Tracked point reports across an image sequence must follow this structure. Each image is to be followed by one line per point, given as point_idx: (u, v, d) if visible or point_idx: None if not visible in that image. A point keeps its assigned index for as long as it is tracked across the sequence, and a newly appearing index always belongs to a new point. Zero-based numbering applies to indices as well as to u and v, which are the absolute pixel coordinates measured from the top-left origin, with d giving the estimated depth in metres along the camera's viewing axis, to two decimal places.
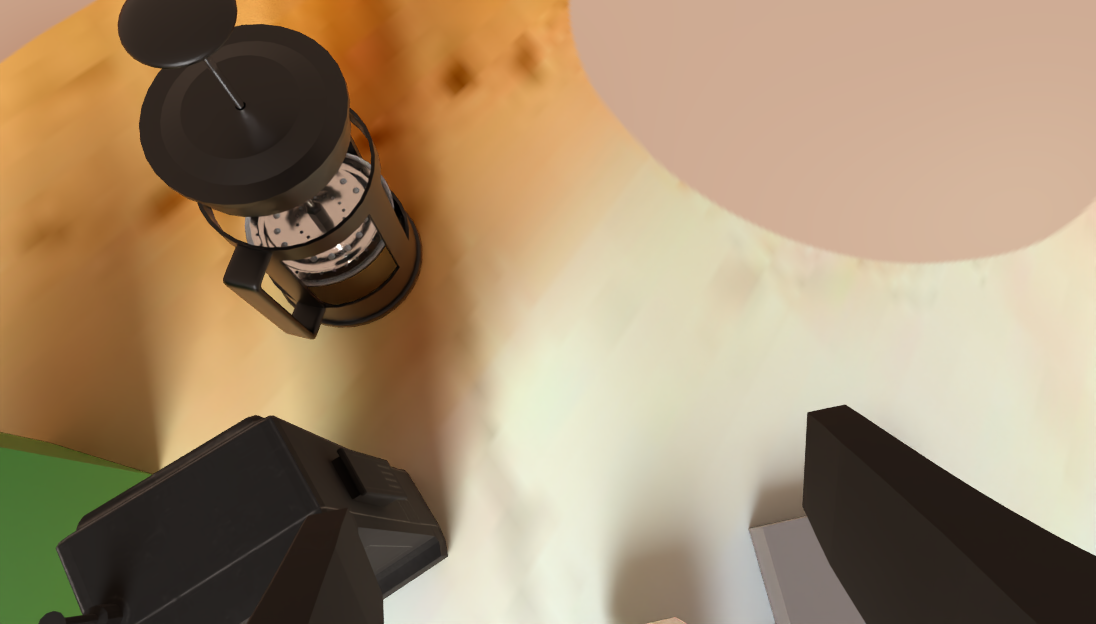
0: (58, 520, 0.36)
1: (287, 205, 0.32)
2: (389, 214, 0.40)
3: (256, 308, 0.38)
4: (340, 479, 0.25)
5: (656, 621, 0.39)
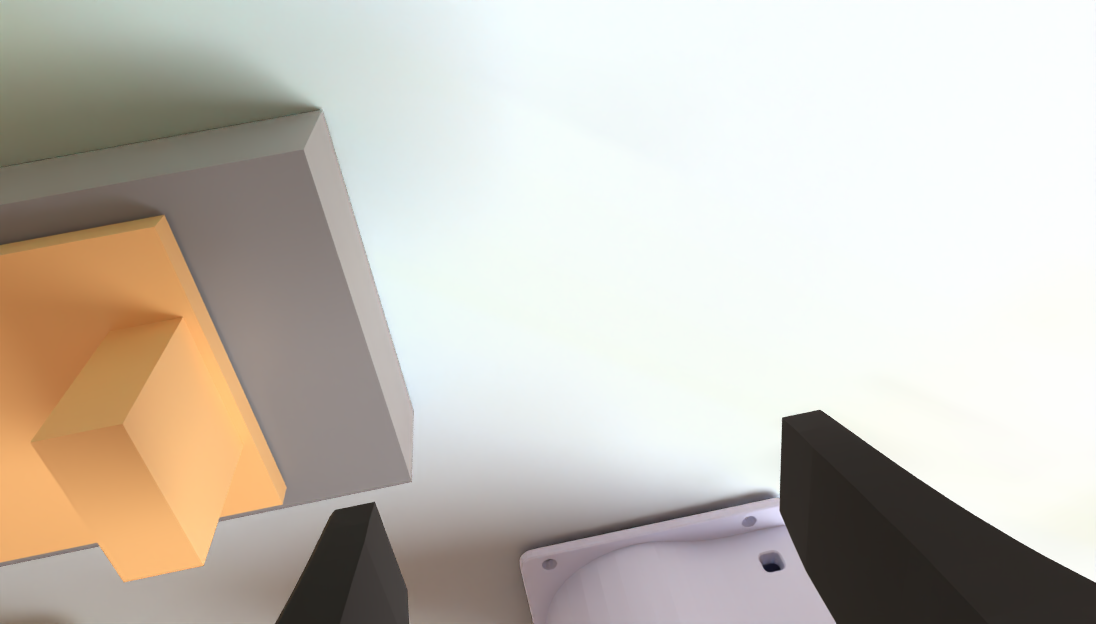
0: None
1: None
2: None
3: None
4: None
5: None
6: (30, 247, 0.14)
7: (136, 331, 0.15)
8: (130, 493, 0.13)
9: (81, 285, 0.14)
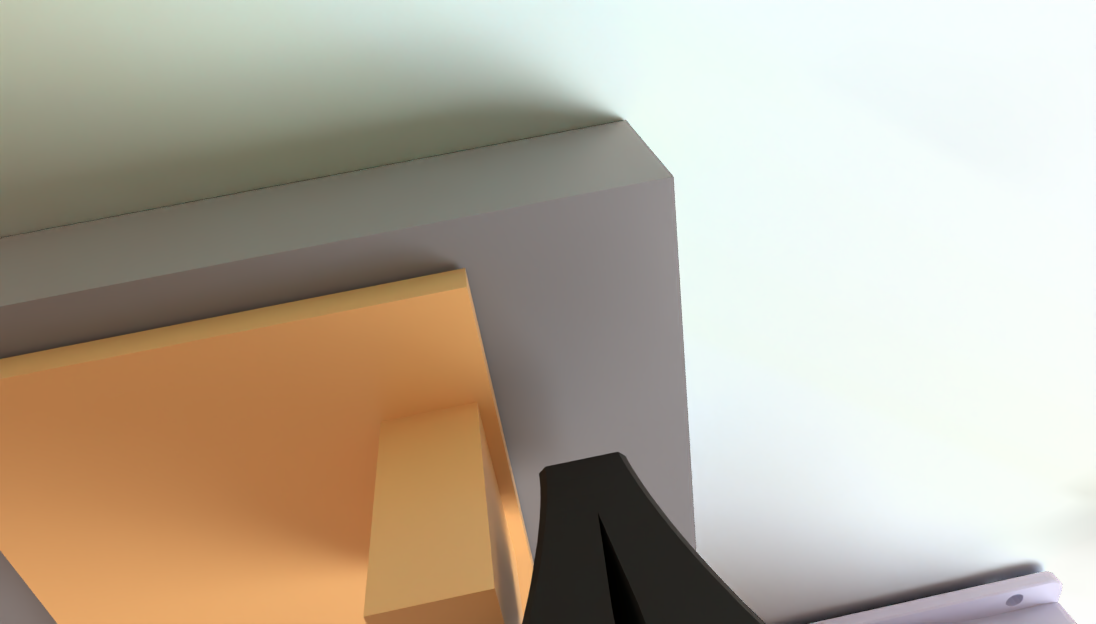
0: None
1: None
2: None
3: None
4: None
5: None
6: (297, 316, 0.10)
7: (422, 423, 0.11)
8: None
9: (357, 364, 0.11)
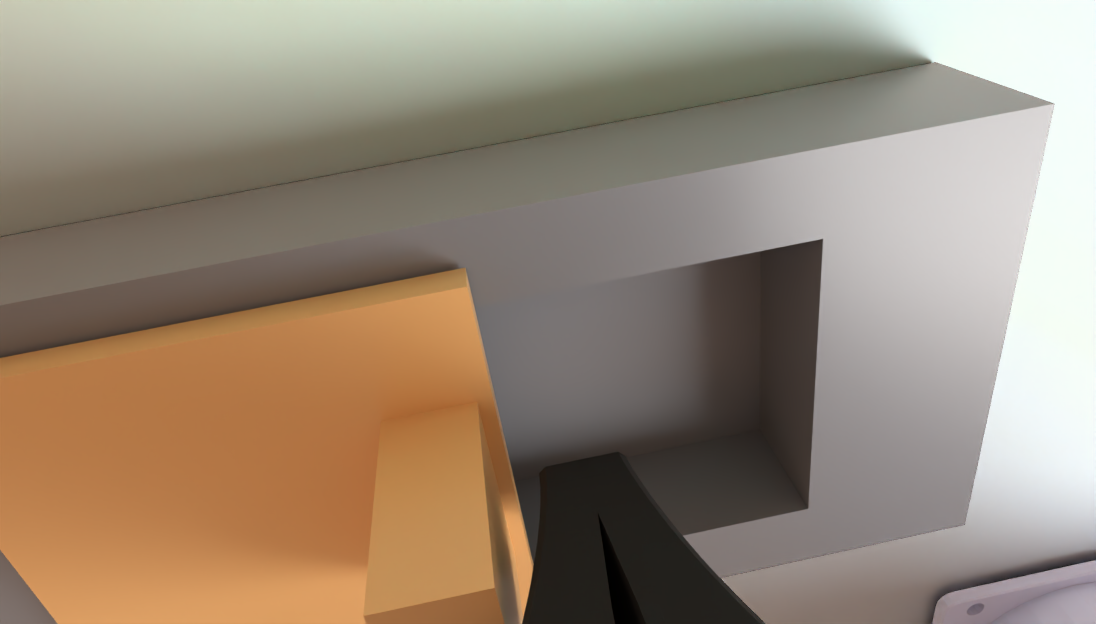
0: None
1: None
2: None
3: None
4: None
5: None
6: (297, 315, 0.10)
7: (422, 423, 0.11)
8: None
9: (357, 364, 0.11)
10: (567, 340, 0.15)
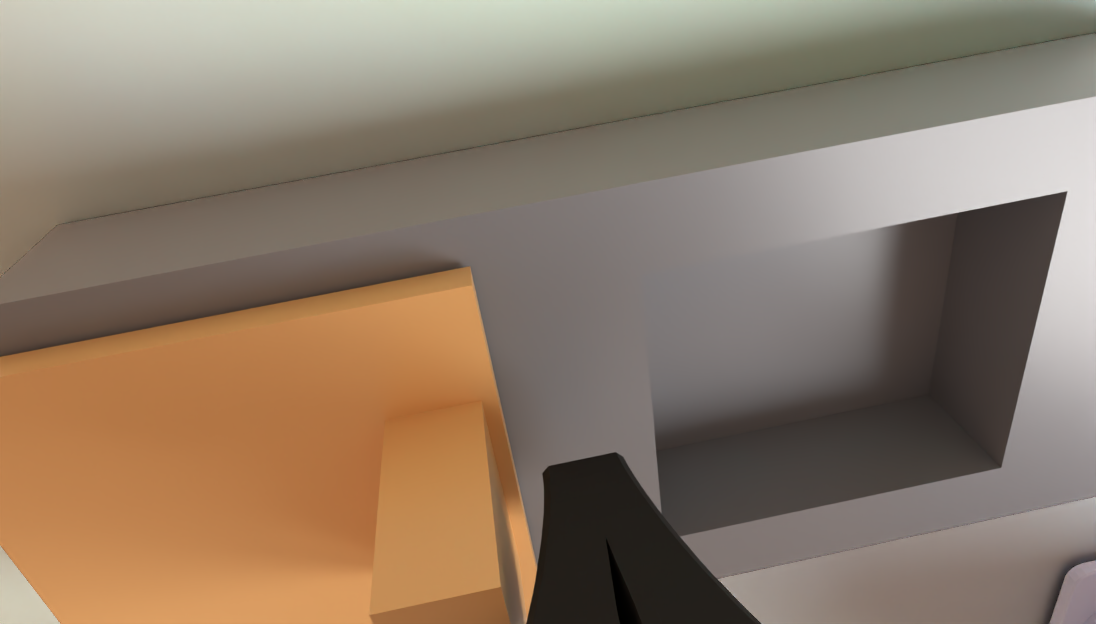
0: None
1: None
2: None
3: None
4: None
5: None
6: (302, 313, 0.10)
7: (426, 422, 0.11)
8: None
9: (361, 362, 0.11)
10: (761, 302, 0.15)
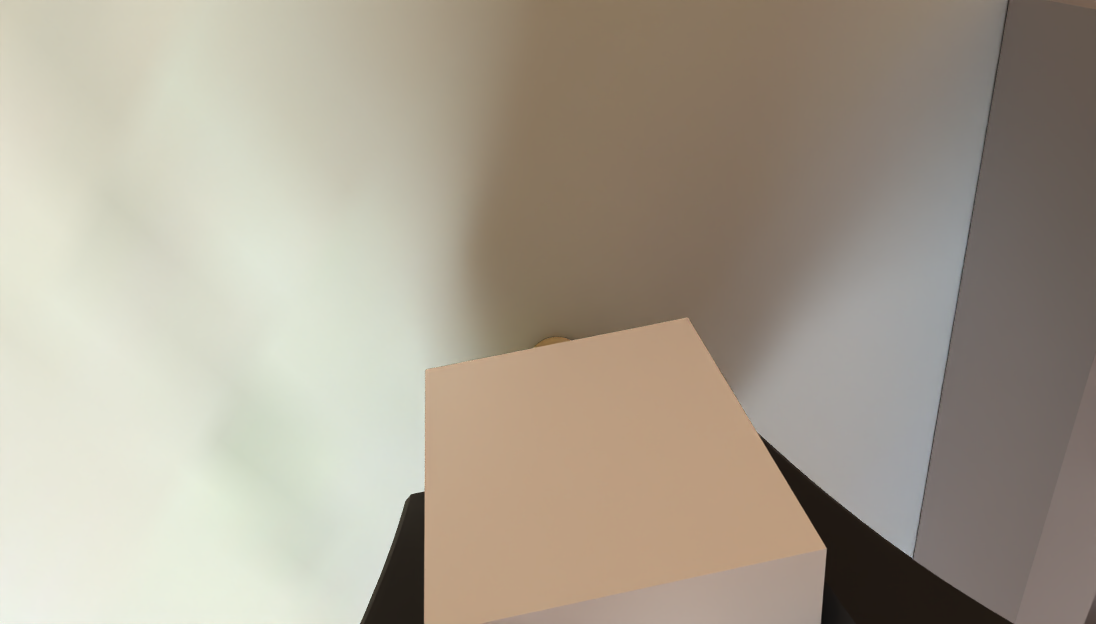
0: None
1: None
2: None
3: None
4: None
5: (621, 333, 0.11)
6: None
7: None
8: None
9: None
10: None
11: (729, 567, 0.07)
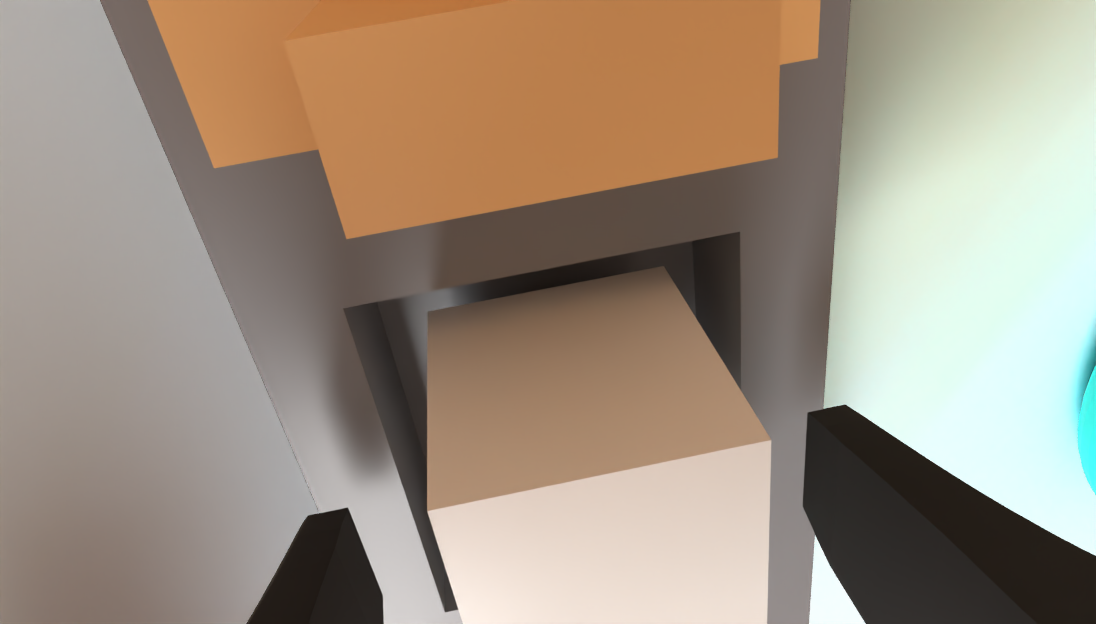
0: None
1: None
2: None
3: None
4: None
5: (603, 279, 0.12)
6: None
7: None
8: (594, 130, 0.06)
9: None
10: None
11: (687, 455, 0.08)
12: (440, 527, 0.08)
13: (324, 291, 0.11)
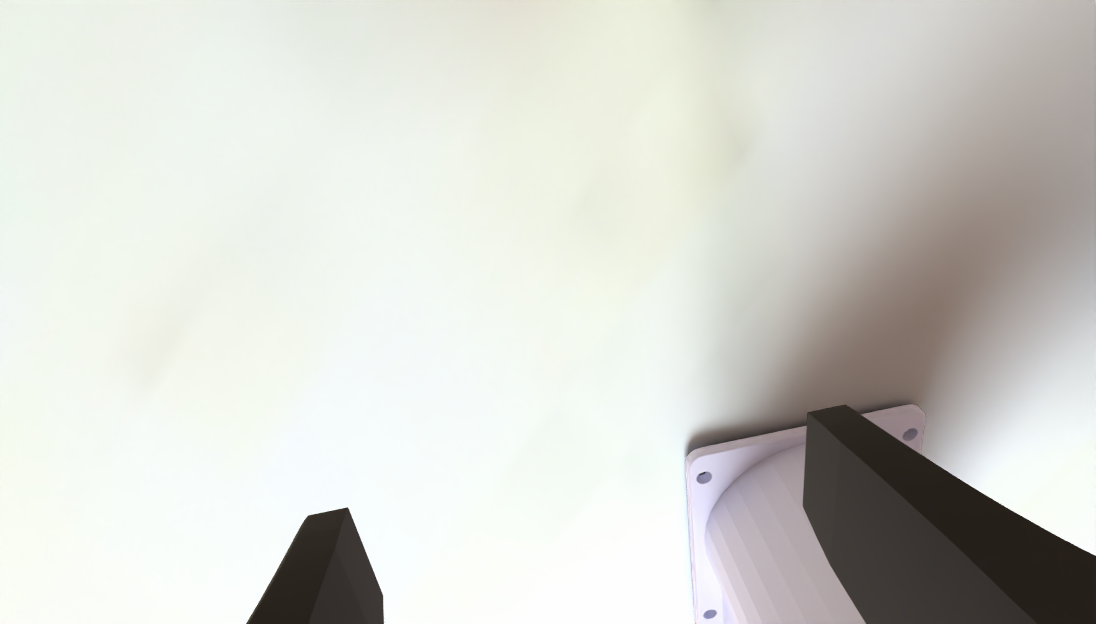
0: None
1: None
2: None
3: None
4: None
5: None
6: None
7: None
8: None
9: None
10: None
11: None
12: None
13: None
